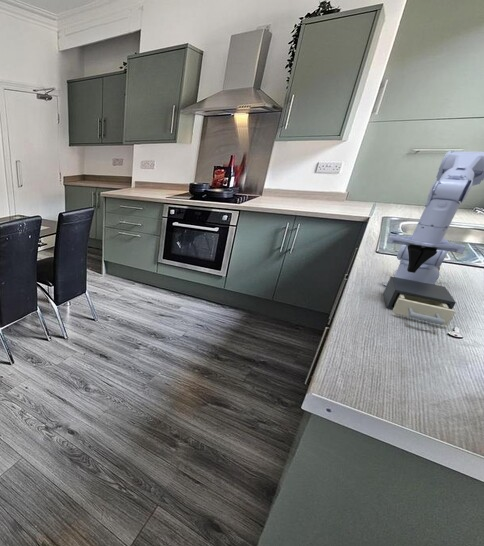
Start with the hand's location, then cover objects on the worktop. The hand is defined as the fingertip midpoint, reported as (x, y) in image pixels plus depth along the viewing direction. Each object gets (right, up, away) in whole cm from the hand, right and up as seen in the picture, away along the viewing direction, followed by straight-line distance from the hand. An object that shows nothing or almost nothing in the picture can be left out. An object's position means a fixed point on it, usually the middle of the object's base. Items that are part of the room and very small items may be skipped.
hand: (410, 271), depth 89 cm
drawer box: (+2, -10, +2) cm, 11 cm away
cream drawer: (-3, -12, -4) cm, 13 cm away
